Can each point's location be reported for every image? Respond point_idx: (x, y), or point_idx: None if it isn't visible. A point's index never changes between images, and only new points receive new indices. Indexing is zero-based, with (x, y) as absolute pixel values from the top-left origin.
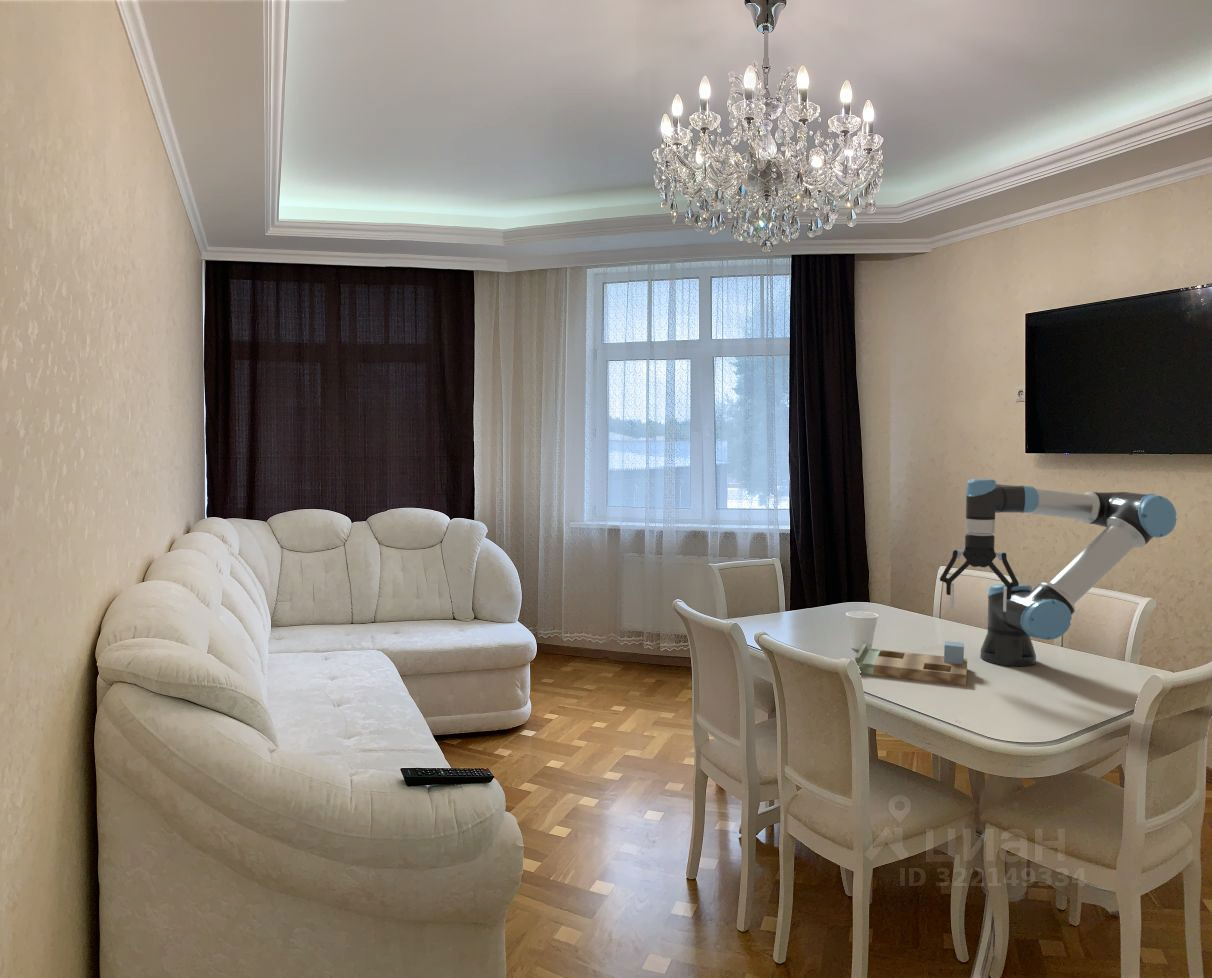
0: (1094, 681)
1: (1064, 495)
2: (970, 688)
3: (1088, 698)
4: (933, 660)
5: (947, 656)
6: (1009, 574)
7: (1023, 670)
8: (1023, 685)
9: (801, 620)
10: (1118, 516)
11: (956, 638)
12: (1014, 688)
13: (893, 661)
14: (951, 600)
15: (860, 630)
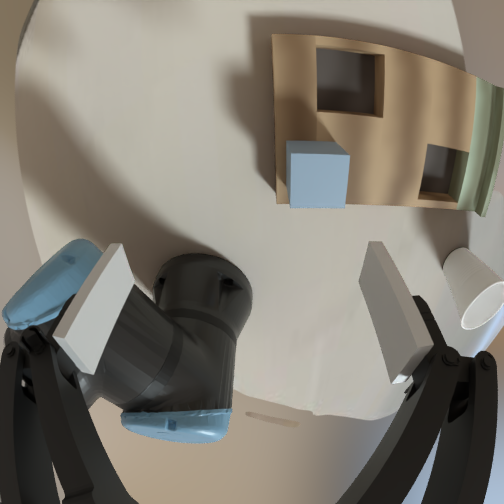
0: (62, 219)
1: None
2: (258, 23)
3: (48, 103)
4: (361, 151)
5: (331, 145)
6: (9, 412)
7: (164, 235)
8: (145, 114)
9: (468, 351)
10: None
11: (292, 367)
12: (160, 77)
13: (445, 111)
14: (390, 265)
15: (484, 267)
